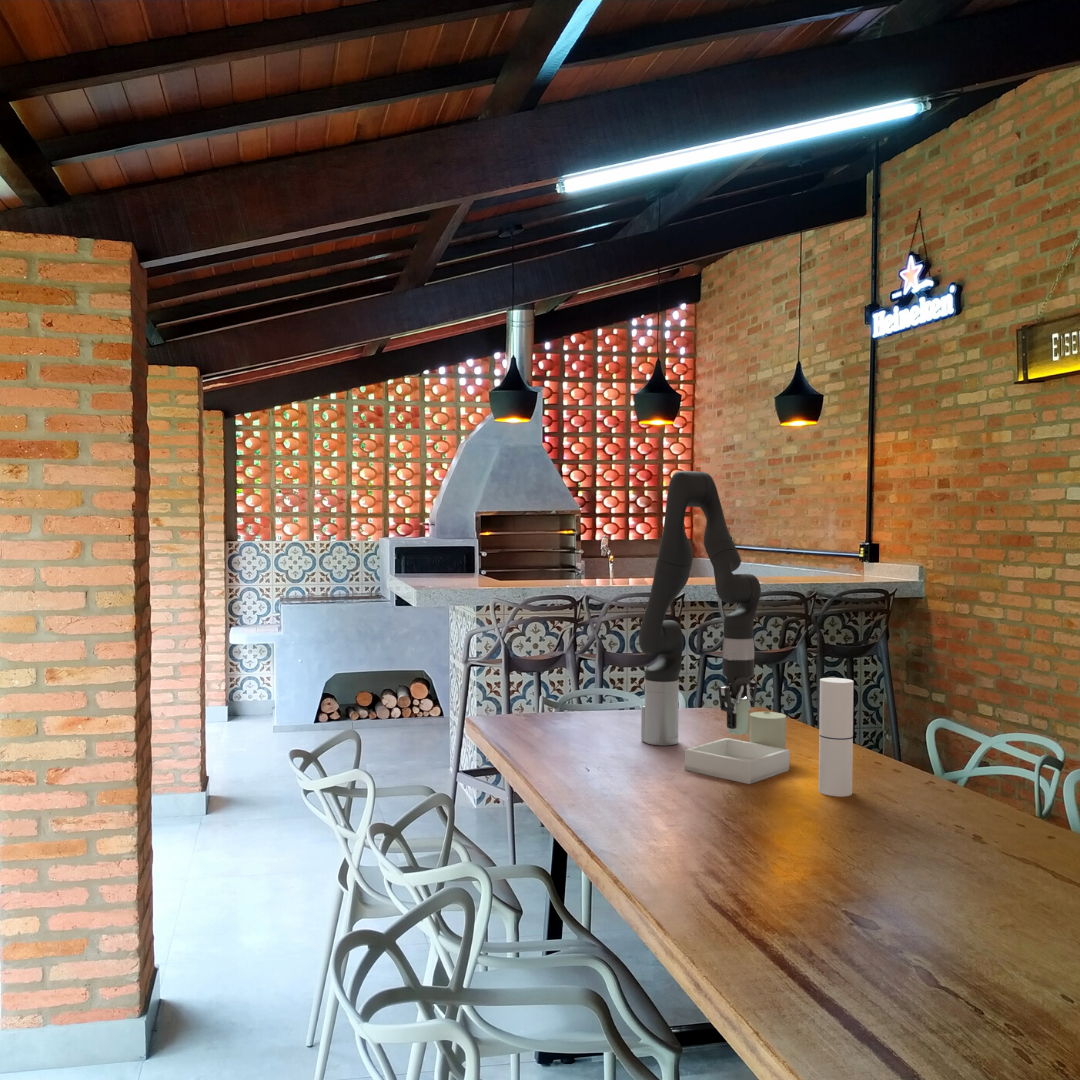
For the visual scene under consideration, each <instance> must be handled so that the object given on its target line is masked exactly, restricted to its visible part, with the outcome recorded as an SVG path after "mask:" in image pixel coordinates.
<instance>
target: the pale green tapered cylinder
mask: <svg viewBox="0 0 1080 1080" xmlns="http://www.w3.org/2000/svg"><path fill="white" fill-rule="evenodd" d="M732 700H735V699H732ZM732 708H733V703H732ZM727 732H728V733H729V734H732V735H747V734H750V710H749V699H746V698H741V699H740V703H739V704H738V705H737V710H736V728H735V729H730V728H728V727H727Z"/></svg>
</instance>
